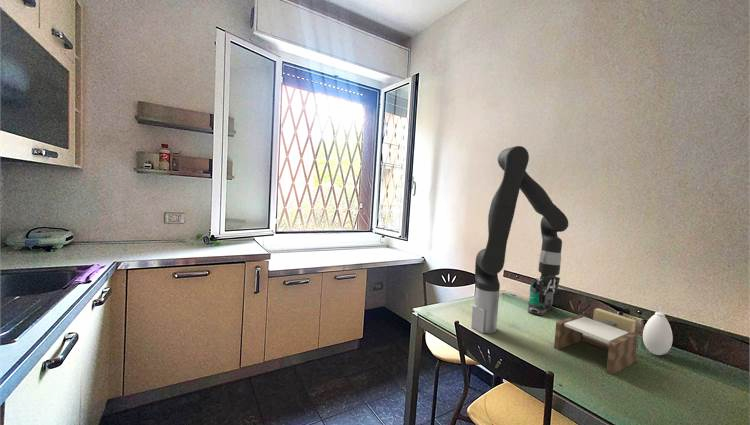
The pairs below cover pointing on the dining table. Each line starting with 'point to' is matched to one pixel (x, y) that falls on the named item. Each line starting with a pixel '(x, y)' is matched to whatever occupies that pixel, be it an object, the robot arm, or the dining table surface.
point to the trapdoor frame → (600, 345)
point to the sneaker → (536, 302)
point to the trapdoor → (603, 325)
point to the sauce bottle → (658, 334)
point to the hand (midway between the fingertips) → (545, 301)
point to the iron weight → (548, 297)
